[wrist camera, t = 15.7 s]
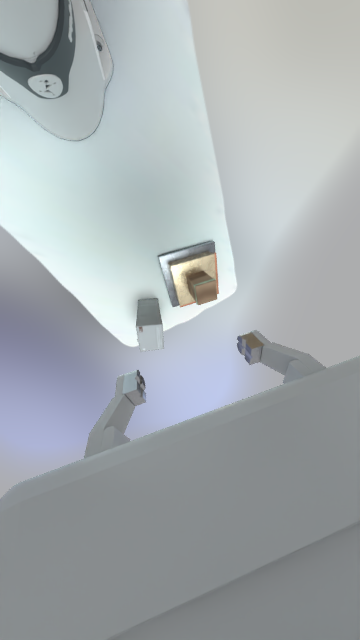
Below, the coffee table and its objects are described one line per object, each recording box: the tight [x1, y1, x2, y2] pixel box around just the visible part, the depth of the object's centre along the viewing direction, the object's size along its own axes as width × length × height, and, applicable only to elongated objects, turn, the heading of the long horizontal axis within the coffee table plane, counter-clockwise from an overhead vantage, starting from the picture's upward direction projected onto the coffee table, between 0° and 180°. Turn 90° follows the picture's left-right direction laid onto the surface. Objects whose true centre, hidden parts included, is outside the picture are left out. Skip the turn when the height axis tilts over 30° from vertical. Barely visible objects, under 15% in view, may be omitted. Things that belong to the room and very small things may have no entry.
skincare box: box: [136, 299, 164, 352], centre depth 44 cm, size 8×7×16 cm
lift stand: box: [158, 241, 219, 307], centre depth 45 cm, size 16×16×6 cm
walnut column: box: [186, 271, 217, 305], centre depth 39 cm, size 5×5×8 cm
